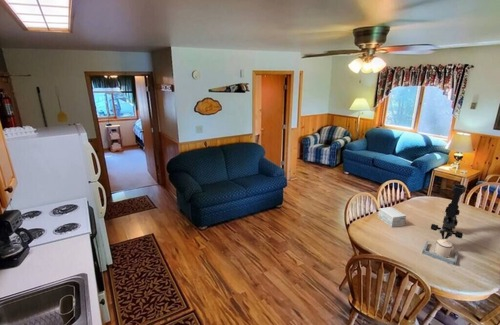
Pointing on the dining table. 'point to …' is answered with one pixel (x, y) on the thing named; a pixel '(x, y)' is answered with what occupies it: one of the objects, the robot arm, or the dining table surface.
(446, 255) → the teacup with lid
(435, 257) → the dock
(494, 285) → the dining table surface
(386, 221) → the supplement box
